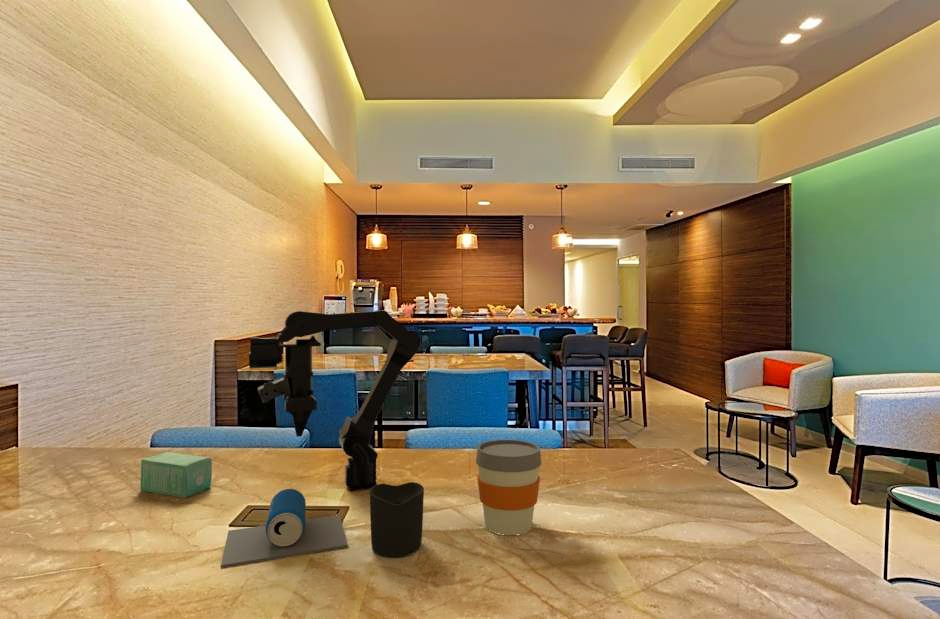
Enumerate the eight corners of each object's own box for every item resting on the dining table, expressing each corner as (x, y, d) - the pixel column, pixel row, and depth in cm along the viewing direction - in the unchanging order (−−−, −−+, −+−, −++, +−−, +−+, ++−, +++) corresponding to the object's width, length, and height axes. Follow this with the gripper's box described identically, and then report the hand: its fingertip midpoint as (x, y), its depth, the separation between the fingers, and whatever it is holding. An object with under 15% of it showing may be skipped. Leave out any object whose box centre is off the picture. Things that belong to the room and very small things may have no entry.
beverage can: (278, 483, 97) (274, 506, 86) (311, 492, 99) (311, 516, 87) (264, 515, 96) (258, 543, 85) (297, 524, 98) (295, 553, 87)
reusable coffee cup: (496, 546, 88) (497, 460, 88) (464, 519, 99) (464, 443, 99) (554, 531, 94) (554, 451, 94) (518, 508, 105) (518, 436, 105)
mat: (339, 517, 100) (339, 515, 100) (348, 547, 88) (348, 544, 88) (228, 532, 93) (228, 530, 93) (220, 567, 80) (220, 565, 80)
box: (186, 499, 110) (186, 464, 110) (139, 492, 114) (139, 459, 114) (212, 487, 117) (212, 455, 117) (167, 482, 121) (167, 450, 121)
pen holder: (400, 565, 81) (400, 503, 81) (357, 550, 86) (358, 492, 86) (434, 542, 89) (434, 486, 89) (393, 530, 94) (394, 477, 94)
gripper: (260, 364, 119) (260, 430, 119) (259, 373, 101) (259, 450, 101) (309, 362, 123) (310, 425, 123) (316, 370, 105) (317, 445, 106)
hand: (299, 436), depth 113 cm, fingers closed
